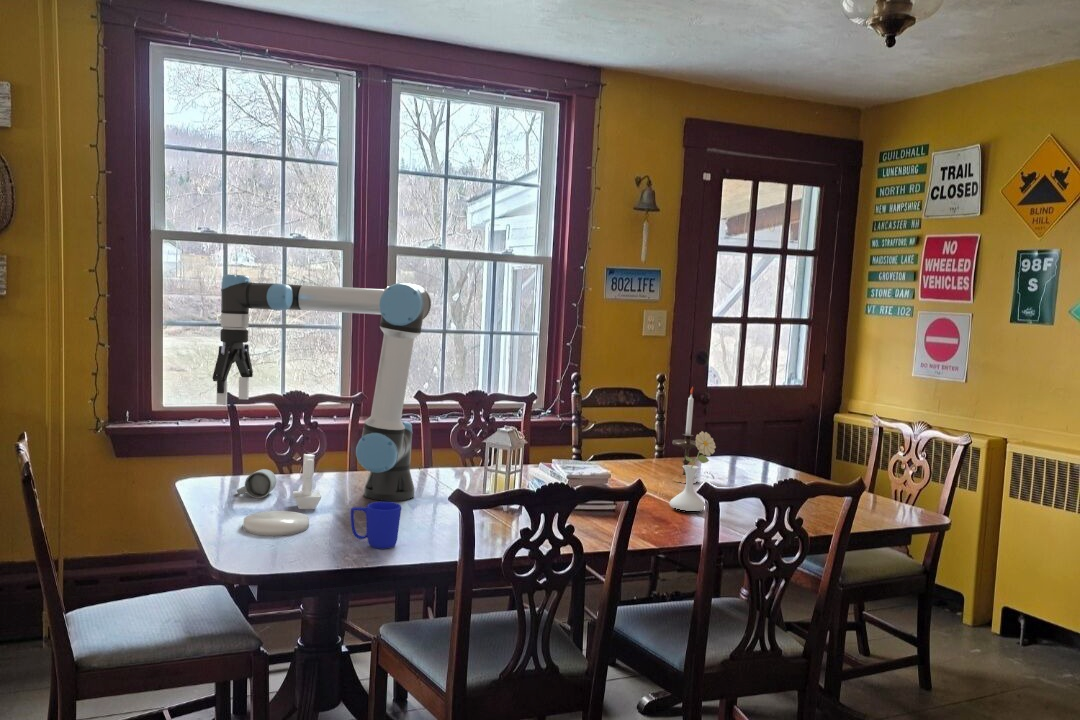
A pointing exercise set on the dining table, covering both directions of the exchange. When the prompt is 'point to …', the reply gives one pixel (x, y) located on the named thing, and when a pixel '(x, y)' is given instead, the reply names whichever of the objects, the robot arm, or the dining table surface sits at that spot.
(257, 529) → the disc
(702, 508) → the flower in vase
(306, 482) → the figurine
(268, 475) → the ceramic mug
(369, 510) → the mug
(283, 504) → the dining table surface
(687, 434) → the candlestick
